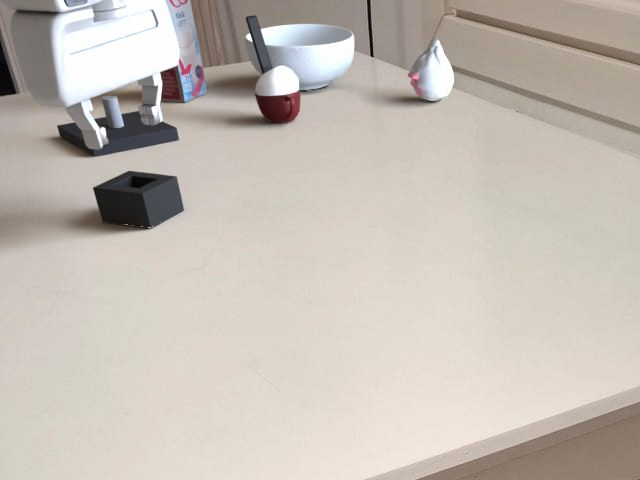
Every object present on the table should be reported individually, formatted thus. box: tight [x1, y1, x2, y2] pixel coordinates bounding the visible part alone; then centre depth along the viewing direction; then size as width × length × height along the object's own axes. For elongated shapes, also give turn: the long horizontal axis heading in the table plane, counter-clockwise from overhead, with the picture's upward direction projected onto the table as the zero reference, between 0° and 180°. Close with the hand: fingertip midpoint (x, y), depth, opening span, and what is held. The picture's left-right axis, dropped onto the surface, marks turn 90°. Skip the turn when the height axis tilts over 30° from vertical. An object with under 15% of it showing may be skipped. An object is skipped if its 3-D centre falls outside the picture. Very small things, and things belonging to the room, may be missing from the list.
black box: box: [92, 170, 185, 227], centre depth 100 cm, size 6×6×4 cm
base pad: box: [56, 95, 180, 157], centre depth 123 cm, size 12×12×5 cm
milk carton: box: [160, 0, 208, 104], centre depth 134 cm, size 7×7×22 cm
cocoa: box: [245, 14, 301, 124], centre depth 127 cm, size 10×6×12 cm, turn 12°
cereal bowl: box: [244, 23, 355, 90], centre depth 144 cm, size 17×17×7 cm
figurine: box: [407, 38, 455, 99], centre depth 136 cm, size 6×7×8 cm
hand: (126, 135), depth 96 cm, fingers open, 8 cm apart
